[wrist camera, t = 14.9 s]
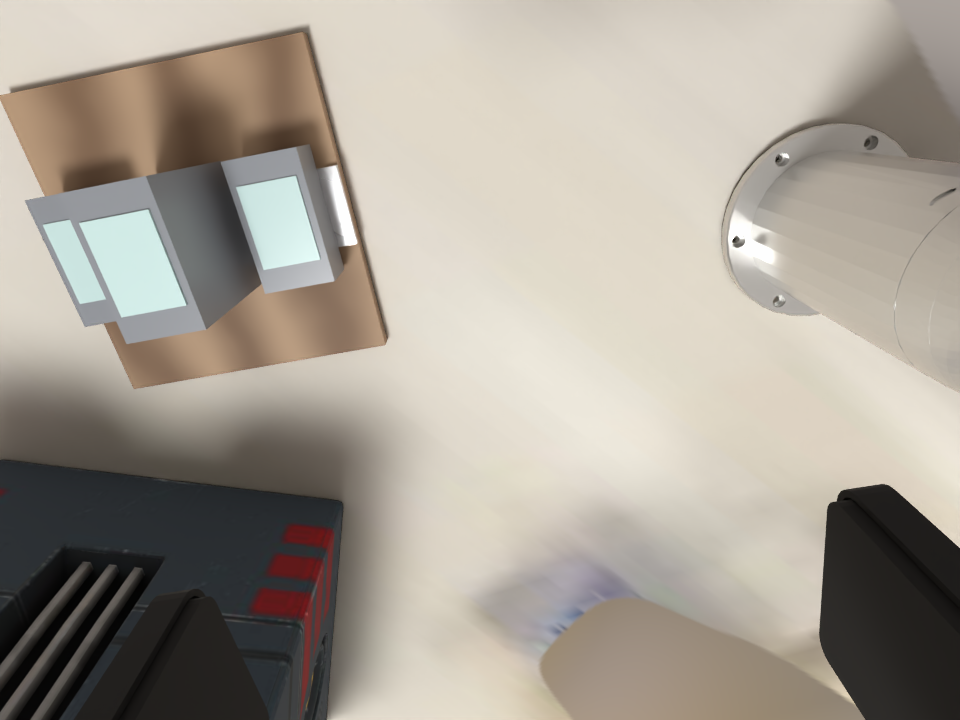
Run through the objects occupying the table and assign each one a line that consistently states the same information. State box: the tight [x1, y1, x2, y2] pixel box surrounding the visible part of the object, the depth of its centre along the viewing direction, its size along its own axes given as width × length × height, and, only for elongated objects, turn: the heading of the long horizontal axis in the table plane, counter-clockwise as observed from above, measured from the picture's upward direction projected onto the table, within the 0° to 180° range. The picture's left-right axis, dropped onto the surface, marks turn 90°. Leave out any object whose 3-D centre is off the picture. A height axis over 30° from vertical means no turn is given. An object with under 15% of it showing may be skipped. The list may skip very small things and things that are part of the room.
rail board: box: [0, 32, 387, 389], centre depth 37 cm, size 19×20×5 cm
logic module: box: [58, 161, 262, 344], centre depth 34 cm, size 4×8×9 cm, turn 10°
